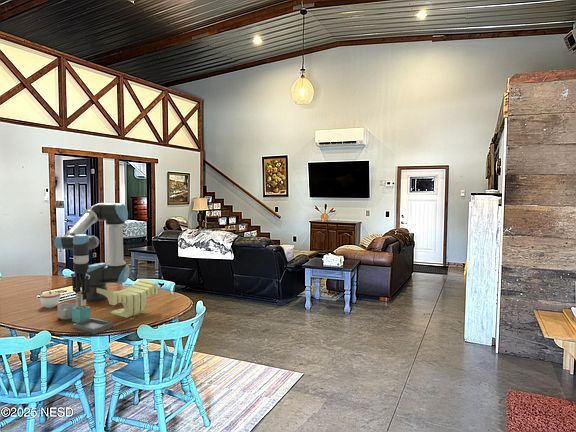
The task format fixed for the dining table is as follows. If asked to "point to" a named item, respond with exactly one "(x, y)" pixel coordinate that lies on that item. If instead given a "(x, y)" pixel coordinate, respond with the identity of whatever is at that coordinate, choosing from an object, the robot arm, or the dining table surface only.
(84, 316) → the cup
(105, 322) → the tray
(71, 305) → the teacup
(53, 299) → the lidded jar
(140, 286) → the slatted curved stool
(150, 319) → the dining table surface
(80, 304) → the dowel
